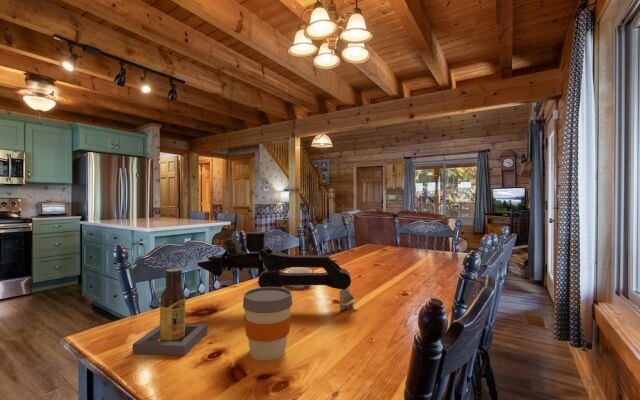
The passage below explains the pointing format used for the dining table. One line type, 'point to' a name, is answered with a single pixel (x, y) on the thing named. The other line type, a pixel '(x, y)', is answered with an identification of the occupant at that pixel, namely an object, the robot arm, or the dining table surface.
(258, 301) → the reusable coffee cup
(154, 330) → the grey square frame
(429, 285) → the dining table surface
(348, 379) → the dining table surface
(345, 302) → the architectural model
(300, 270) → the food container
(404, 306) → the dining table surface
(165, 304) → the sauce bottle
